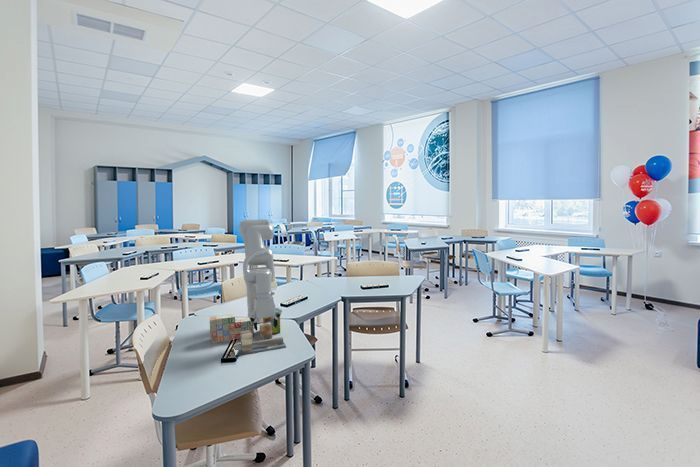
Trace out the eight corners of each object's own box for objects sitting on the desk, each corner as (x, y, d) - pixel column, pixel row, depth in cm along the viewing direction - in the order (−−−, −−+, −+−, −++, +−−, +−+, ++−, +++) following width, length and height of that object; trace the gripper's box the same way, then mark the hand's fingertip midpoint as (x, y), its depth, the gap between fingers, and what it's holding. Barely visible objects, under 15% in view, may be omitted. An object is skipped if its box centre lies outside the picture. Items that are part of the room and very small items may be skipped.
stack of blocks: (253, 333, 203) (252, 311, 202) (254, 337, 197) (252, 314, 196) (211, 339, 196) (209, 316, 195) (210, 343, 190) (209, 319, 189)
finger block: (261, 342, 190) (261, 326, 189) (260, 338, 194) (259, 323, 194) (272, 340, 192) (271, 325, 191) (270, 337, 196) (269, 322, 196)
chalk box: (263, 335, 200) (262, 307, 198) (263, 329, 209) (261, 303, 207) (281, 333, 202) (279, 306, 201) (279, 327, 211) (278, 301, 210)
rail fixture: (232, 349, 182) (231, 331, 181) (281, 340, 191) (281, 324, 190) (234, 356, 174) (233, 337, 173) (285, 347, 183) (285, 329, 182)
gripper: (279, 291, 198) (281, 323, 199) (245, 296, 191) (247, 328, 192) (282, 294, 191) (284, 327, 192) (247, 299, 184) (249, 333, 185)
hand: (265, 328), depth 192 cm, fingers open, 9 cm apart
